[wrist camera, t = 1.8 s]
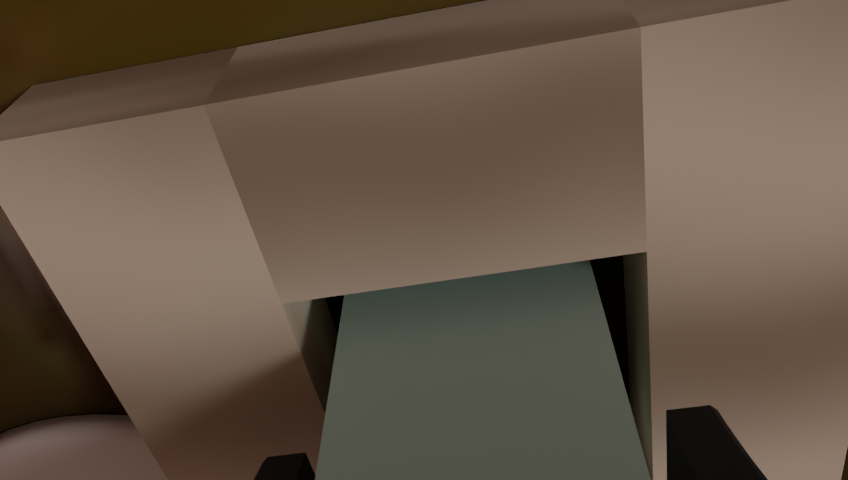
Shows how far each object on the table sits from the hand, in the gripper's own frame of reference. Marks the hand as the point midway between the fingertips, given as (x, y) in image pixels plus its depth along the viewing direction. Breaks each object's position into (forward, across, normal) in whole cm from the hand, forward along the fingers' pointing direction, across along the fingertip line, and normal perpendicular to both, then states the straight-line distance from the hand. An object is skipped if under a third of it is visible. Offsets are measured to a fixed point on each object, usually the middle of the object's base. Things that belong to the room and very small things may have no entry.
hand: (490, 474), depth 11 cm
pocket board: (+3, 0, 0) cm, 3 cm away
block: (+3, 0, 0) cm, 3 cm away
